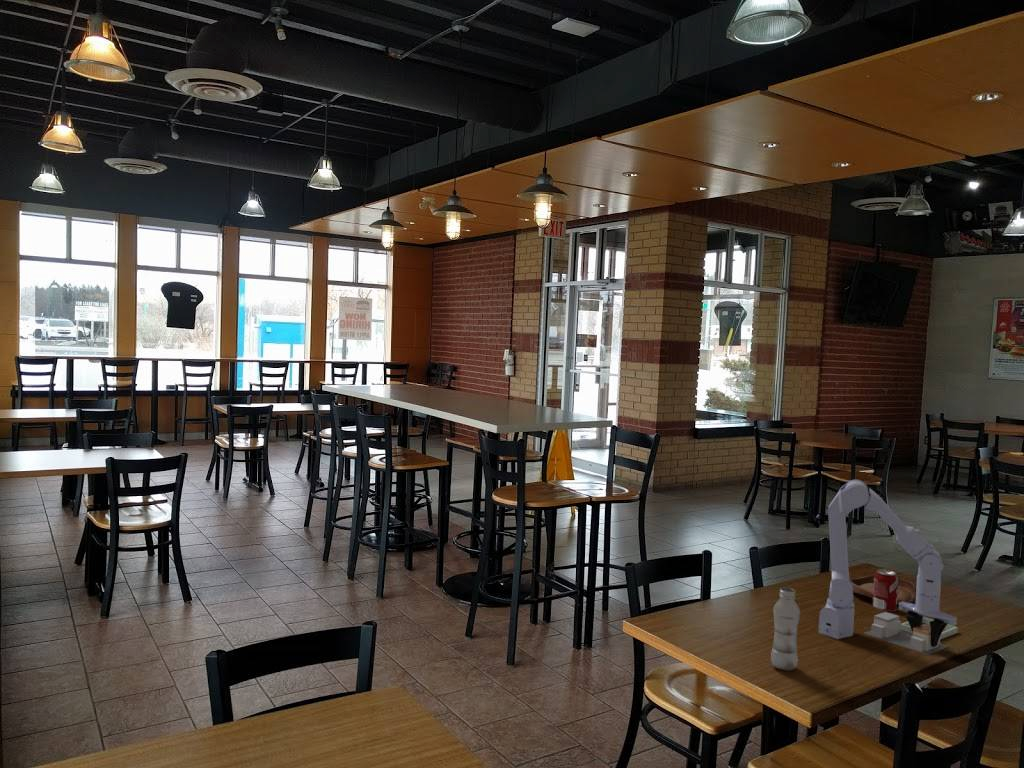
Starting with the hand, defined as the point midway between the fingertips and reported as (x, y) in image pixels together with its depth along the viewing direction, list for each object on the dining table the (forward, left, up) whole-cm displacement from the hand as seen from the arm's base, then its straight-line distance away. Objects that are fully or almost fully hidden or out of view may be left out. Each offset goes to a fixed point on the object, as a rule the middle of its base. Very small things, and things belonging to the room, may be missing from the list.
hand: (925, 643), depth 206 cm
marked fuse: (0, 0, -1) cm, 1 cm away
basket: (+34, +32, -2) cm, 46 cm away
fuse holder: (0, +6, -2) cm, 6 cm away
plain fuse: (0, +11, -1) cm, 11 cm away
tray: (+13, +6, -2) cm, 14 cm away
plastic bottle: (-45, +13, -2) cm, 47 cm away
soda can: (+22, +24, -2) cm, 32 cm away
